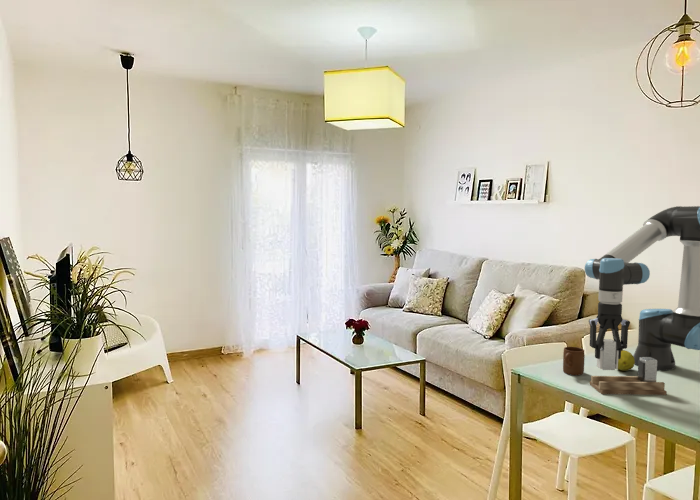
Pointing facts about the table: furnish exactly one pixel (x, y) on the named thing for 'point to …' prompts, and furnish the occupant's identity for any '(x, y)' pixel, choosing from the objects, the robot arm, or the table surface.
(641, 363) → the finger
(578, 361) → the mug
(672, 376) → the table surface
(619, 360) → the lemon
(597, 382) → the rail
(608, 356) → the block
